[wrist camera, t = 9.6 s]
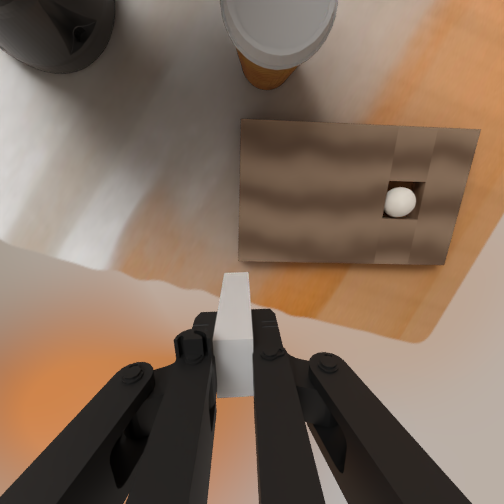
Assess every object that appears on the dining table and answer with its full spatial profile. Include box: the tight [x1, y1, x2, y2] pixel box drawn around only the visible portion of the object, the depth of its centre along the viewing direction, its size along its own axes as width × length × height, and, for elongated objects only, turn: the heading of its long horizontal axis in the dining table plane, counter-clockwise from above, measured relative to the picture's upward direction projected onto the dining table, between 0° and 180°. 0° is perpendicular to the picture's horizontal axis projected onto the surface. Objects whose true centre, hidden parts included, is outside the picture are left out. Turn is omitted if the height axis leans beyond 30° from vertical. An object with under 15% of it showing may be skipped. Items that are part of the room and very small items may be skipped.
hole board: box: [238, 119, 481, 265], centre depth 34 cm, size 18×30×2 cm, turn 88°
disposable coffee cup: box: [220, 0, 338, 90], centre depth 24 cm, size 10×10×12 cm
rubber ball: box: [384, 187, 416, 217], centre depth 34 cm, size 4×4×4 cm
